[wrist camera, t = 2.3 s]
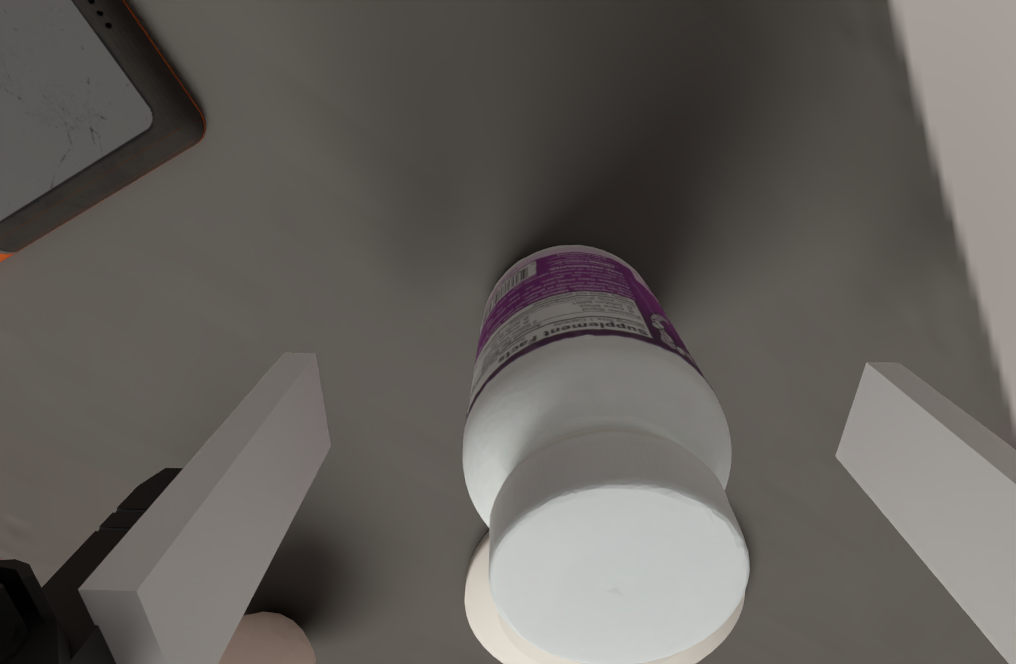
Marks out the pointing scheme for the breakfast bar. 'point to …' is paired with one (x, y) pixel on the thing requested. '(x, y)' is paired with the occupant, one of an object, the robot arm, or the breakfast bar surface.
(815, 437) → the breakfast bar surface
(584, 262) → the pill bottle
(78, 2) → the phone
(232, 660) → the egg
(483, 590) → the saucer
